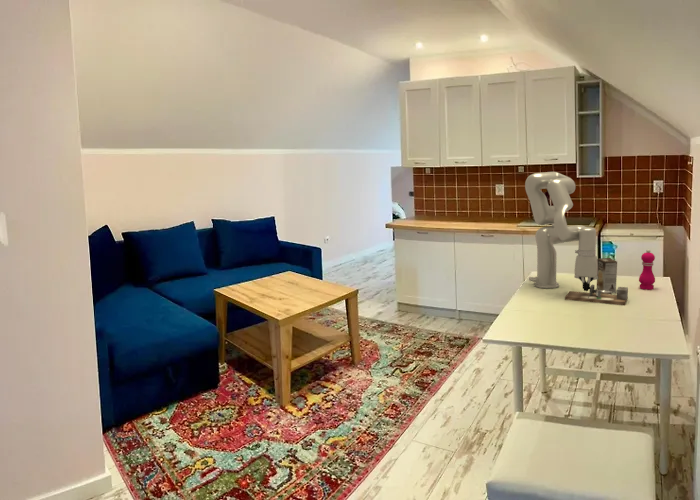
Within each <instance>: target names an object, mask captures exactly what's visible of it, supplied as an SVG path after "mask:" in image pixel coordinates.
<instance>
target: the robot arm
mask: <svg viewBox="0 0 700 500" xmlns="http://www.w3.org/2000/svg"><path fill="white" fill-rule="evenodd" d="M524 189H525V193H526V196H527V197H528V200H529V203H530V207H531V212H532V215H533V220H534V222H535V223H536V224H537V225H539V226H543V227H540V228H538V230H536V232H535V234H534V235H535V241H536V250H537V252H536V253H537V255H536V257H537V258H536V259H537V260H536V261H537V264H536V265H537V266H536V269H537V270H536V271H537V272H536V275H537V276H535V277H534V276H529V278H528V281H530V282H534V283H533V286H534V287H536V288H541V289H556V288H559V286H560V283H559V282H557V250H556V248H555V247H554V245H557V244H563V243H570V242H576V241H577V242H578V249H576V250H574V253H575V254H577V255H576V257H575V261H574V263H575V264H574V278H575V279H579V280H580V281H581V283H582V290H583V291H584V292H585V291H586V292H588V291H589V290H590V286H591V283H592V282H593V281H595V280H596V281H597V279H598V278H599V277H598V256H597V255H596V251H597V248H596V247H597V245H596V244H597V243H596V242H597V230H596V227H595V228H594V227H591V226H590V227H589V226H585V225H582V224H580V225H578V224H577V225H570V226H568V222H567V219H566V216H565V214H566V212H569V210H571V209H572V208H573V206H574V203H573V201H572V198H571V196H570V195H571V194H573V193H574V192H575V190H576V182H575V181H574V180H573V179H572V178H571V177H570V176H567V175H564V174H562V173H560V172H557V171H547V172H546V171H545V172H535V173H532V174H529V175H528V177H527V178H526V180H525V183H524ZM543 189H545V190H547V193H548V196H549V198H550V200H551V203H552V204H553V205H549V202H548V198H547V196H546V194H545V192H543V191H542V190H543ZM544 225H545V226H544ZM546 225H549V226H546ZM586 278H587V280H586Z"/></svg>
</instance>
